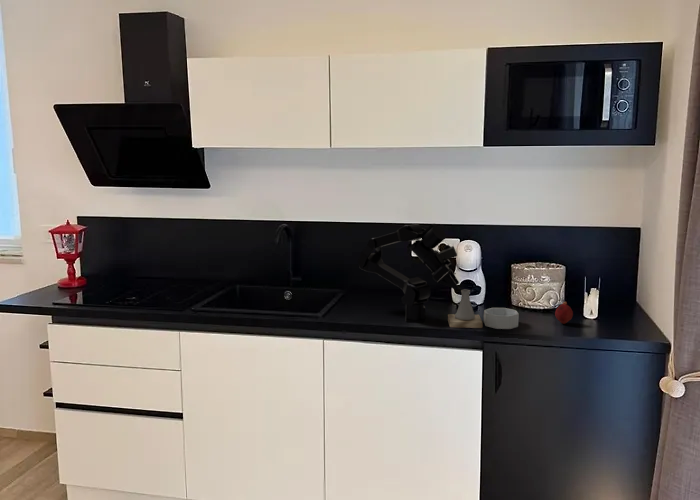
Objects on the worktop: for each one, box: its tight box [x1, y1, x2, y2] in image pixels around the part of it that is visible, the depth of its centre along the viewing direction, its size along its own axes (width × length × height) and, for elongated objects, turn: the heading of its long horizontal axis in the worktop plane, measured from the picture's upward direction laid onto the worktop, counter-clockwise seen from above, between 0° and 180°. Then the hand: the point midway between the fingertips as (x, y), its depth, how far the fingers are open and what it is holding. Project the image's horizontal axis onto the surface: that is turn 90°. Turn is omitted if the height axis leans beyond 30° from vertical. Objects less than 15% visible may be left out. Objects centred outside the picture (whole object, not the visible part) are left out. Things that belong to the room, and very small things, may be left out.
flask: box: [455, 288, 476, 320], centre depth 223 cm, size 7×7×10 cm
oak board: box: [447, 313, 484, 329], centre depth 224 cm, size 11×10×2 cm
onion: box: [554, 301, 574, 325], centre depth 223 cm, size 6×6×8 cm
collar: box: [483, 307, 520, 330], centre depth 223 cm, size 11×11×4 cm
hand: (458, 286), depth 223 cm, fingers open, 9 cm apart
